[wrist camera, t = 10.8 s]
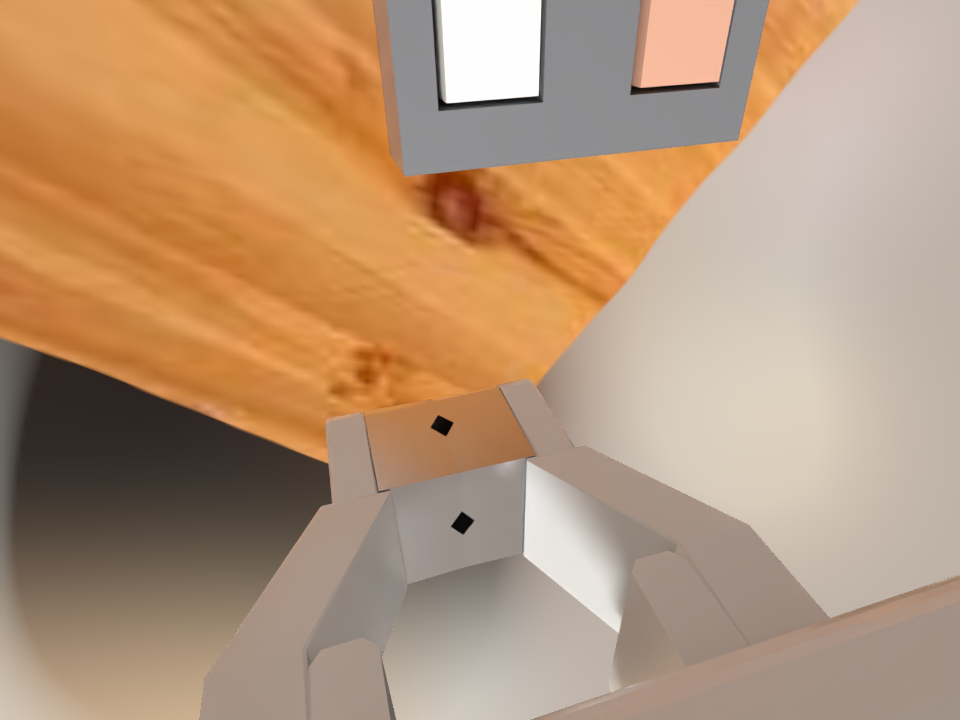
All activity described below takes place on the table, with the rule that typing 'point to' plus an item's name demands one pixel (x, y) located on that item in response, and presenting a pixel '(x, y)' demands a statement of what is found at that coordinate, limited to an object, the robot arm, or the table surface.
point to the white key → (486, 49)
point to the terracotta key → (680, 41)
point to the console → (557, 92)
